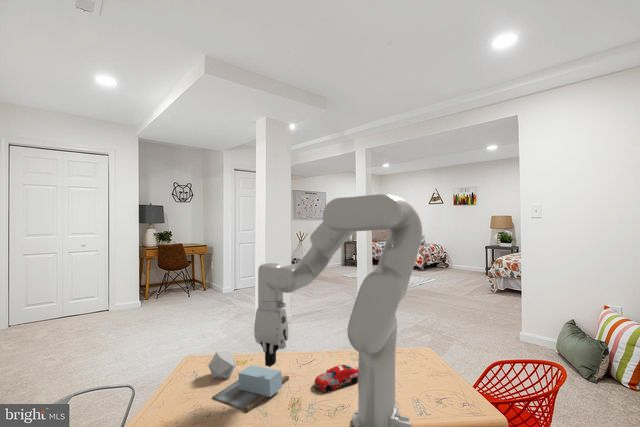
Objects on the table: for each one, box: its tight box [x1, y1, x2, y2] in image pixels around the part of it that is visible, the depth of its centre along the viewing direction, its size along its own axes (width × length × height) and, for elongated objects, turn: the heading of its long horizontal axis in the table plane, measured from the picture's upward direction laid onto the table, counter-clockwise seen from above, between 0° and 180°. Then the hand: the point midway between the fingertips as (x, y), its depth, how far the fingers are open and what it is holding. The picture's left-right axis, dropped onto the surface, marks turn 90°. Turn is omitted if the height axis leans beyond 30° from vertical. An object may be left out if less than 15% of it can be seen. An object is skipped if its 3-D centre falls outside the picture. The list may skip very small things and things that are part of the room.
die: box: [207, 351, 237, 379], centre depth 109 cm, size 8×9×10 cm
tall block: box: [238, 364, 283, 398], centre depth 100 cm, size 5×6×12 cm
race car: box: [314, 364, 358, 393], centre depth 105 cm, size 16×7×5 cm, turn 118°
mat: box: [212, 375, 290, 413], centre depth 101 cm, size 14×20×1 cm
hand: (270, 364), depth 98 cm, fingers closed
